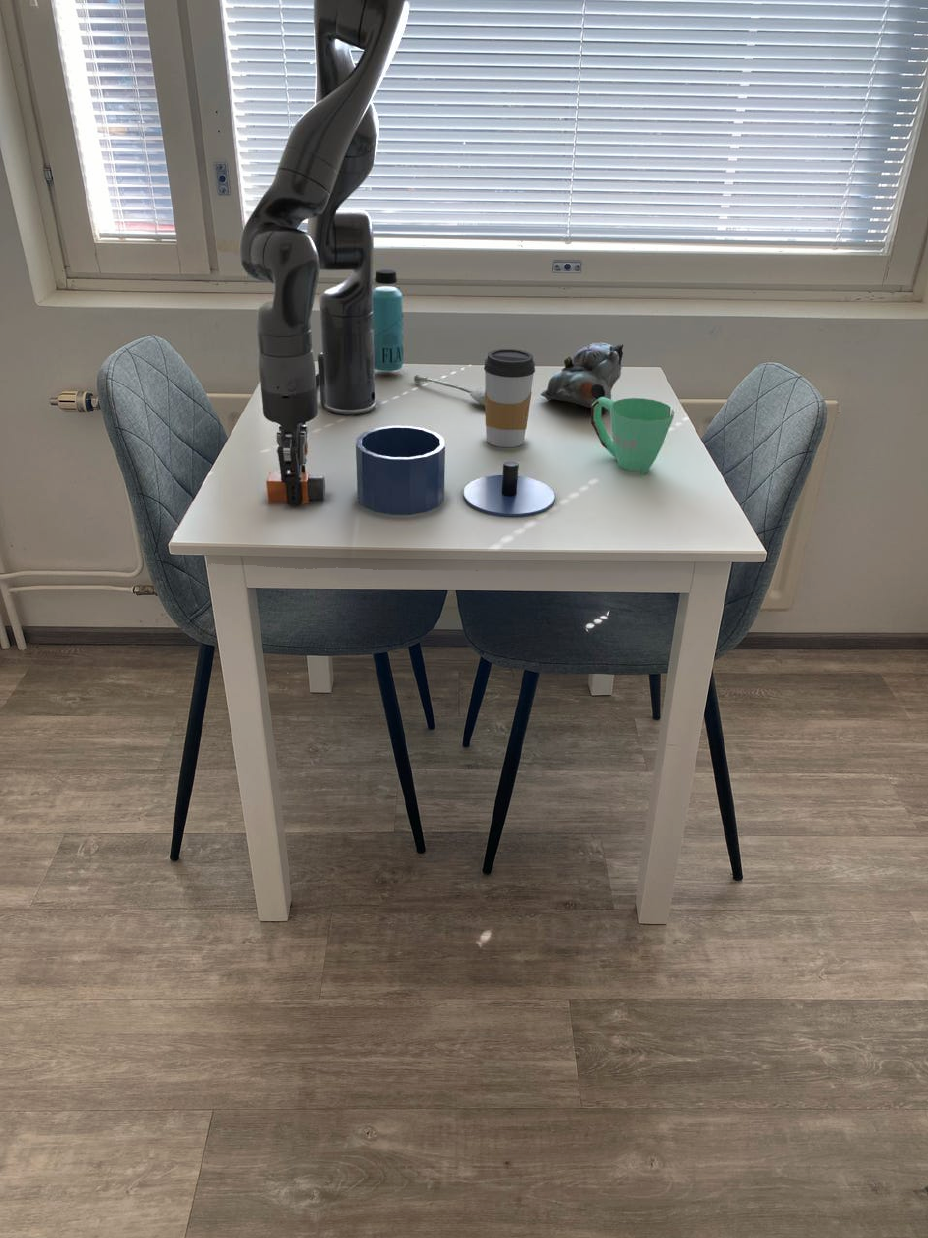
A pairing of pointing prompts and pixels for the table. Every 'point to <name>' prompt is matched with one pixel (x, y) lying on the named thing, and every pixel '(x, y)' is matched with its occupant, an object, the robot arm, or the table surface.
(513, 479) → the tin lid
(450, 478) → the table surface
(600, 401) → the mug
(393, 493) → the tin
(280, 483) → the handle
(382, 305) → the beverage bottle
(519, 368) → the coffee cup
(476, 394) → the soupspoon
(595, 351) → the lucky cat figurine
